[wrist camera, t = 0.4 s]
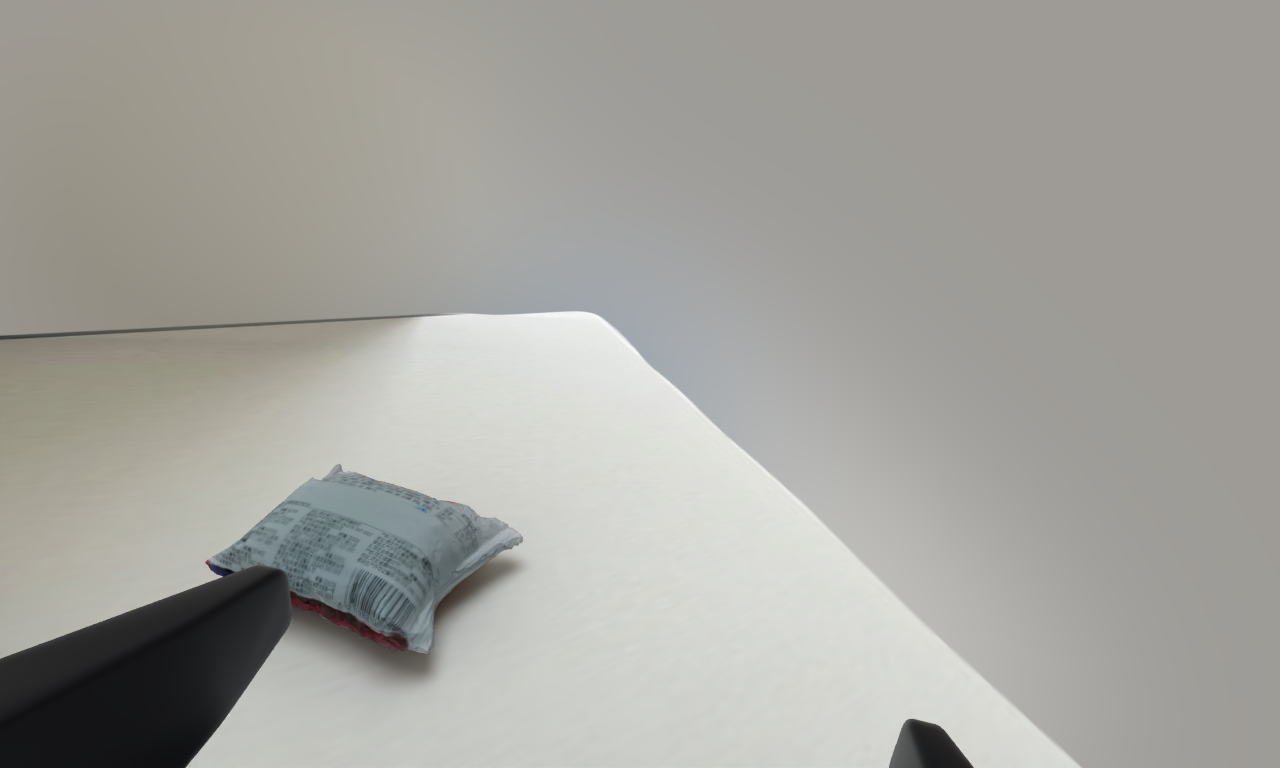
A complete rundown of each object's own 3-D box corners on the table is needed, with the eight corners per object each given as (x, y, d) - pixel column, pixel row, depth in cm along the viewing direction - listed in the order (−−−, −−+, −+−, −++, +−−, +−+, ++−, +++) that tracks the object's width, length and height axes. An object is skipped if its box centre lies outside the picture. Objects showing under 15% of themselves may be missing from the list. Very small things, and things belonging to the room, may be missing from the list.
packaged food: (346, 503, 37) (336, 431, 35) (524, 564, 34) (525, 489, 32) (209, 604, 30) (185, 520, 28) (420, 695, 27) (413, 608, 24)
